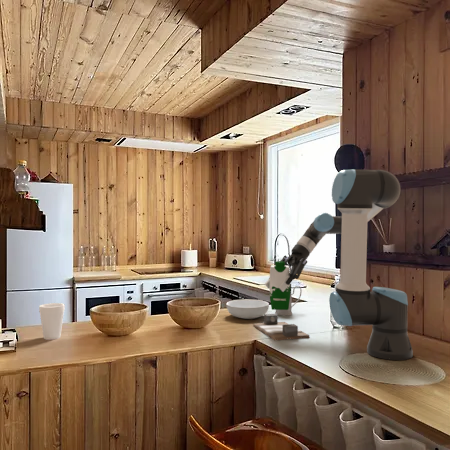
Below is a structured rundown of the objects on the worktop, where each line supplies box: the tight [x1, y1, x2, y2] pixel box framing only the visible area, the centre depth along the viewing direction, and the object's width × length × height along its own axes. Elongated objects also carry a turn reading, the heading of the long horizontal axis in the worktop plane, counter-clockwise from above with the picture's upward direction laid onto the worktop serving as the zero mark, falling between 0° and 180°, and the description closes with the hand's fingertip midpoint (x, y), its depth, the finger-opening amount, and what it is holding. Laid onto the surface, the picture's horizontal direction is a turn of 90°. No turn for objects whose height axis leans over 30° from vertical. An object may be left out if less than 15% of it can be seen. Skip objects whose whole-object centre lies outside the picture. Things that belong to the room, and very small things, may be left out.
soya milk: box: [269, 260, 291, 311], centre depth 191 cm, size 9×9×20 cm
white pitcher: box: [274, 283, 302, 316], centre depth 229 cm, size 9×14×15 cm, turn 107°
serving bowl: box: [225, 298, 270, 320], centre depth 220 cm, size 21×21×7 cm
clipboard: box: [252, 313, 310, 341], centre depth 191 cm, size 25×15×5 cm, turn 16°
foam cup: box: [38, 302, 66, 341], centre depth 180 cm, size 10×9×13 cm
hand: (273, 288), depth 190 cm, fingers closed on soya milk, 9 cm apart
